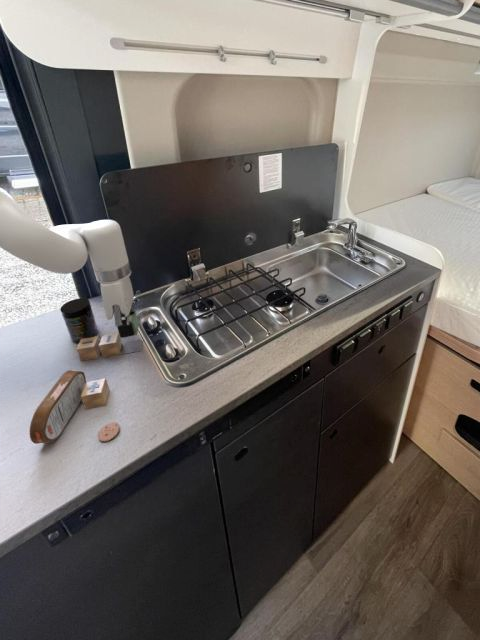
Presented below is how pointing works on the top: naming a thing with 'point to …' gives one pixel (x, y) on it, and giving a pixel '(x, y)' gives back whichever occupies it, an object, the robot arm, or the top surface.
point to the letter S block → (133, 323)
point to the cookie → (108, 431)
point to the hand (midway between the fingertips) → (129, 329)
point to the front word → (95, 393)
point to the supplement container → (79, 319)
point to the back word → (106, 346)
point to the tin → (57, 407)
